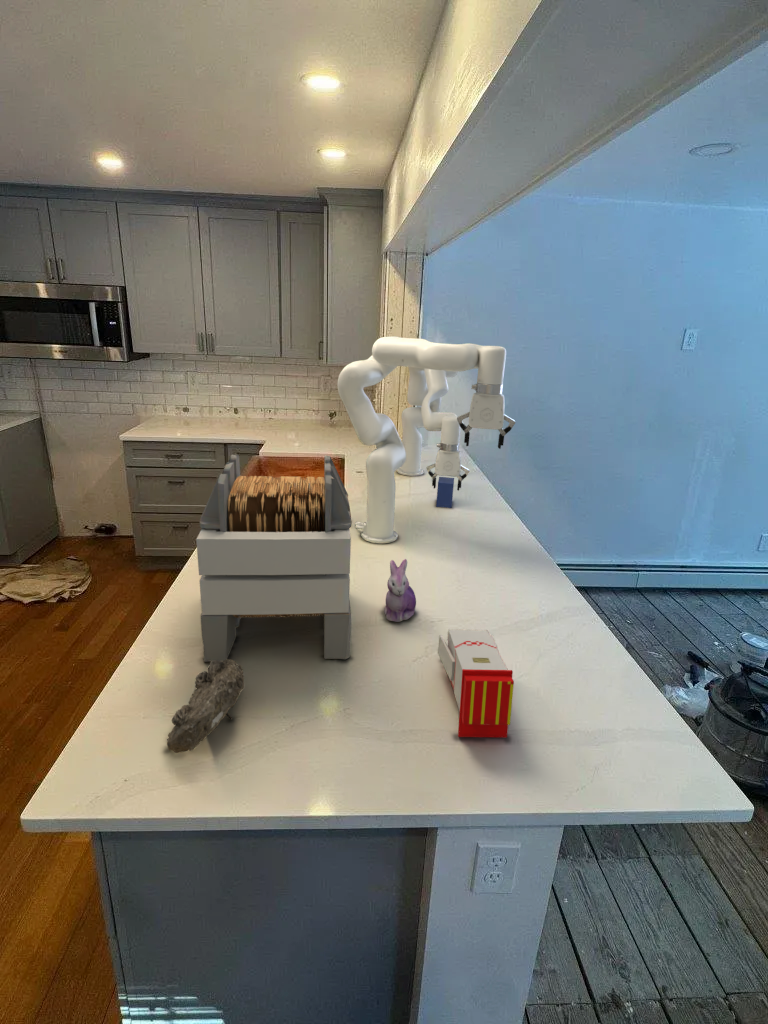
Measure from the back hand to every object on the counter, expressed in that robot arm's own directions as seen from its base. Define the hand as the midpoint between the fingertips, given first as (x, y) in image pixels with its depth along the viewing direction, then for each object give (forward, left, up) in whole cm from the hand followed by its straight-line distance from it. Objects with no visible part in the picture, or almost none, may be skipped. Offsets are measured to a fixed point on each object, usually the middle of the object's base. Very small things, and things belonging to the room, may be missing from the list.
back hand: (446, 488), depth 231 cm
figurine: (+82, -44, -7) cm, 93 cm away
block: (0, 0, -7) cm, 7 cm away
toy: (+115, -39, -7) cm, 122 cm away
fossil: (+112, -90, -7) cm, 144 cm away
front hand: (+50, -10, +30) cm, 59 cm away
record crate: (+80, -74, -7) cm, 110 cm away
